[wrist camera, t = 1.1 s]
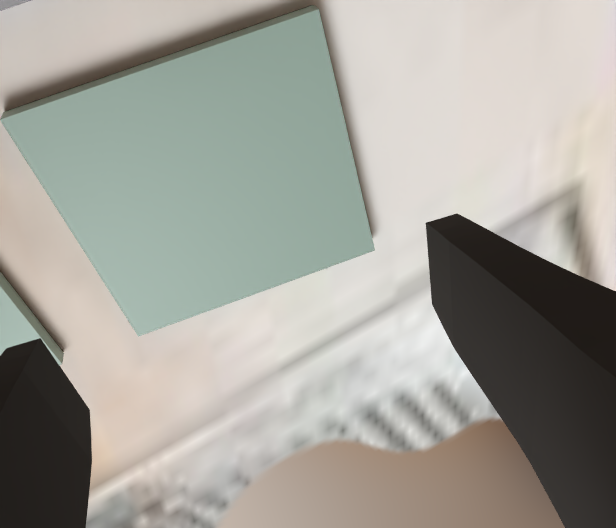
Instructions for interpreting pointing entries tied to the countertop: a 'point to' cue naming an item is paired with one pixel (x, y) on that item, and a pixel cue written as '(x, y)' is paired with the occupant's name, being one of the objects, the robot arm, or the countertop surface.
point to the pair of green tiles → (198, 175)
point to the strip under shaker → (10, 3)
